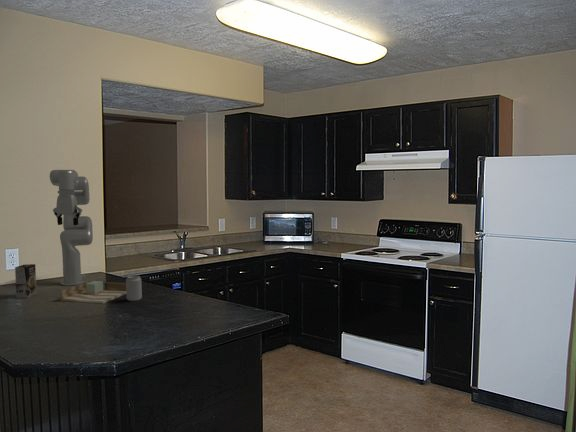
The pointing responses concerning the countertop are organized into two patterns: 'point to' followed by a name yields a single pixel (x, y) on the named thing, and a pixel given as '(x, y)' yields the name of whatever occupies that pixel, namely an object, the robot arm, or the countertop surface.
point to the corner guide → (104, 296)
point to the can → (133, 288)
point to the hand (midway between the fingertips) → (68, 224)
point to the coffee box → (25, 281)
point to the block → (95, 287)
